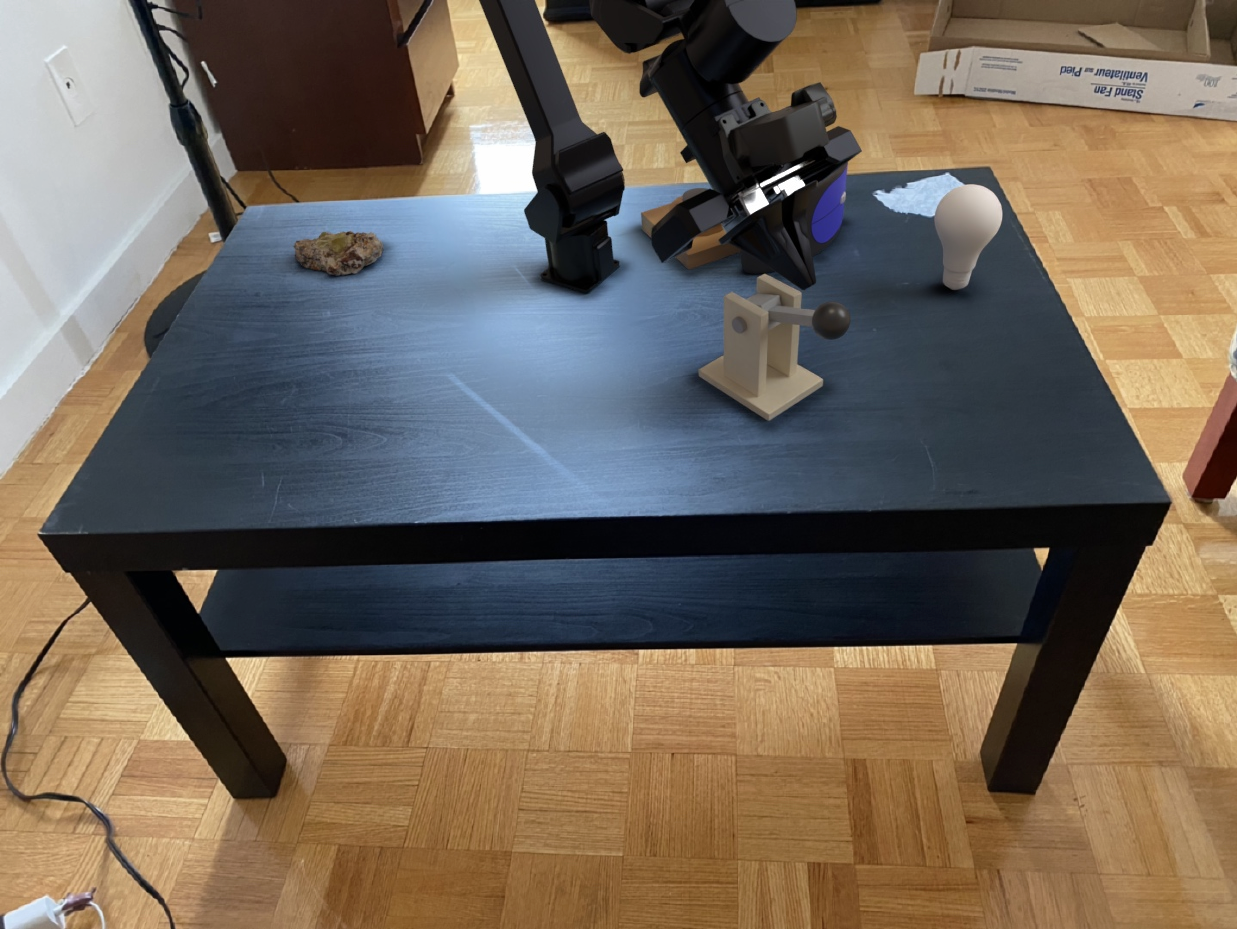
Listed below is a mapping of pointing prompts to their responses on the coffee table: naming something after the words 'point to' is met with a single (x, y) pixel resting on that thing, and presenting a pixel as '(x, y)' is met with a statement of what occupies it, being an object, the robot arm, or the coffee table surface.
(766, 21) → the robot arm
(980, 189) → the lightbulb
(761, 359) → the switch bracket
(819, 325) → the switch lever
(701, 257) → the button block
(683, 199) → the button
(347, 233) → the mineral rock
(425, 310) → the coffee table surface
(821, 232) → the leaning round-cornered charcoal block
